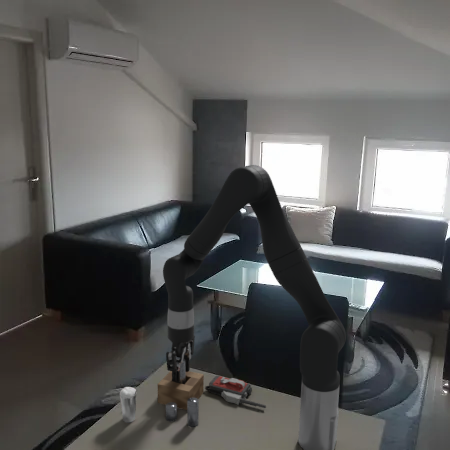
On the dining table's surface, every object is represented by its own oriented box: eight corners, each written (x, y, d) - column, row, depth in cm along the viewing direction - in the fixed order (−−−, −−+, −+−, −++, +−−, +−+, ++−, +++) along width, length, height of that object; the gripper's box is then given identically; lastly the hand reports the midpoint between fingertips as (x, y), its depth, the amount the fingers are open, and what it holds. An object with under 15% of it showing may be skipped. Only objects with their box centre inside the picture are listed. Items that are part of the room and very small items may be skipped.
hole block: (203, 392, 146) (203, 374, 145) (189, 410, 137) (189, 391, 136) (173, 385, 150) (173, 367, 149) (157, 402, 141) (157, 384, 139)
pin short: (178, 416, 135) (178, 403, 134) (173, 422, 132) (173, 409, 131) (169, 414, 136) (168, 401, 135) (163, 420, 133) (163, 407, 132)
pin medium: (200, 422, 132) (200, 399, 131) (195, 428, 130) (195, 404, 128) (190, 419, 133) (190, 396, 132) (185, 425, 131) (185, 402, 129)
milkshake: (131, 427, 129) (130, 393, 127) (116, 420, 132) (115, 387, 130) (143, 418, 133) (142, 385, 131) (128, 412, 136) (127, 380, 134)
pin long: (187, 395, 144) (186, 359, 141) (183, 401, 142) (182, 364, 139) (178, 393, 145) (177, 357, 142) (174, 399, 143) (173, 362, 140)
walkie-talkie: (201, 395, 145) (264, 413, 137) (201, 382, 144) (265, 399, 136) (214, 381, 153) (274, 397, 145) (214, 369, 152) (275, 384, 144)
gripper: (181, 334, 130) (181, 391, 134) (203, 315, 144) (202, 367, 147) (156, 330, 133) (157, 385, 137) (180, 311, 146) (180, 362, 150)
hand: (181, 375), depth 142 cm, fingers open, 6 cm apart
